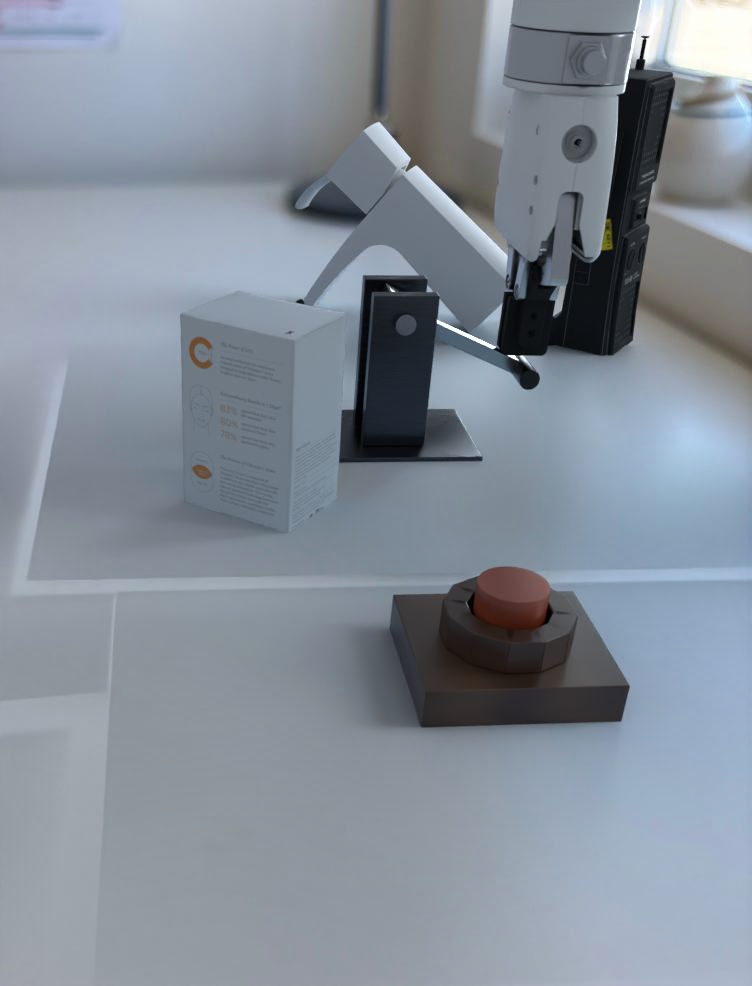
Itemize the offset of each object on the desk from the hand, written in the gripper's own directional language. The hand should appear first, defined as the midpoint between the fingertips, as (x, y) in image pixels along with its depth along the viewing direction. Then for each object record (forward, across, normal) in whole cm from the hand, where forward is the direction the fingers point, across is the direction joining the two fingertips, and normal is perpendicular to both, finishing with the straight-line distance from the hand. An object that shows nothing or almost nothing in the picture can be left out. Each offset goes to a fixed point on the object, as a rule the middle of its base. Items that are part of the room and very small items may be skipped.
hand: (521, 351), depth 80 cm
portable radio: (+7, +21, -13) cm, 26 cm away
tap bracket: (+7, 0, +9) cm, 12 cm away
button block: (+7, -29, +8) cm, 31 cm away
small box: (+8, -10, +19) cm, 23 cm away
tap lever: (0, 0, +5) cm, 5 cm away
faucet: (+8, +31, +2) cm, 32 cm away
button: (+4, -29, +8) cm, 30 cm away
